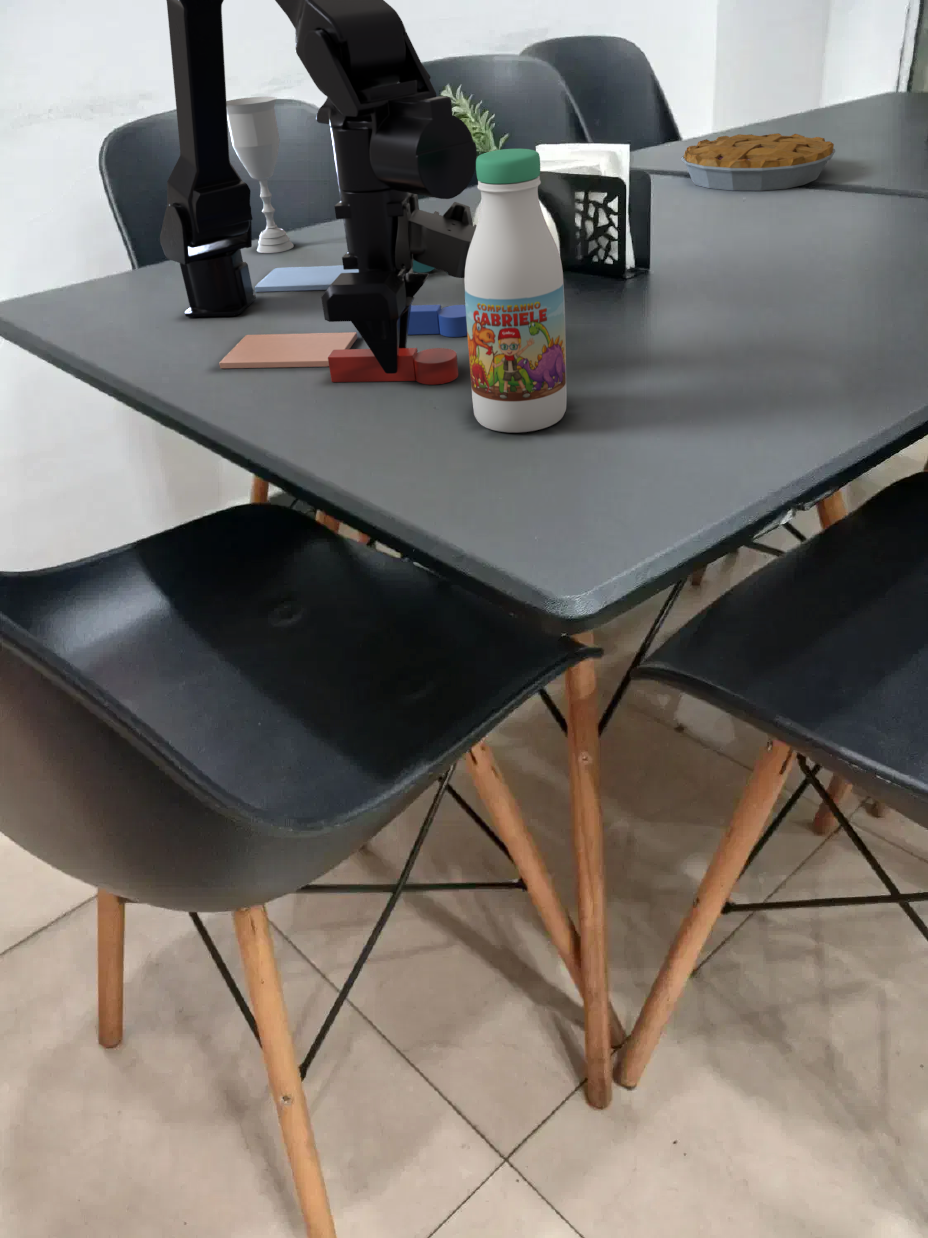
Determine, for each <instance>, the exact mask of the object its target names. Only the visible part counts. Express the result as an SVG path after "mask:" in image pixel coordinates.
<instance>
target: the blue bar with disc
mask: <svg viewBox="0 0 928 1238" xmlns="http://www.w3.org/2000/svg"><path fill="white" fill-rule="evenodd" d="M409 335H410V336H412V335H413V336H414V335H441V336H443V337H447V338H461V337H468V335H467V321H466V306H465V304H454V305H449V306H445V307H442V305H441V304H417V305H416V304H415V305H414V304H411V312H410V320H409V328H408V336H409Z"/></svg>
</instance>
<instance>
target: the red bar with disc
mask: <svg viewBox="0 0 928 1238" xmlns="http://www.w3.org/2000/svg"><path fill="white" fill-rule="evenodd" d="M328 362H329V366H328V369H329V373H330V380H331V383H362V382H363V383H364V382H365V383H367V382H415V381H416V382H418V383H419V384H422V385H429V386H430V385H431V386H433V385H443V384H448V383H451V382H453V381H454V380H456V379H458V377H459V366H458V364H459V363H458V353H457V351H455V350H454V349H452V348H445V347H432V348H427V349H422V350H421V351H418V347H406V348H399V359H398V371H397V373H395V374H387V373H385V372H384V370H383V368H382V367H381V365H380V364H379V362H378V361H377V359H376V358H375V356H374V354H373V353H372V351H371V350H370V348H360V349H359V348H356V349H355V348H350V349H344V350H333V351H332V352H331V354H330V355H329V356H328Z"/></svg>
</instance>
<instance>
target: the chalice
mask: <svg viewBox="0 0 928 1238" xmlns="http://www.w3.org/2000/svg"><path fill="white" fill-rule="evenodd" d="M276 102H277V97H276V96H251V97H243V98H242V97H241V98H235V99H230V100H226V103H227V122H228V132H229V135H230V141H231V145H232V148H233V150H234V152H235V153H236V155H237V158H238V160H239V161H240V163H241V165H242V166H243V167H244V169H245V170H246V171H247V173H248V175H249V176H250V178H251V179H253V180H256V181H258V184H259V187H260V195H259V198H260V199H261V201H262V202H263V208H262V210H261V212H262V214H263V215H264V216H265V219H266V226H265V229H263V230H262V231H260V233H259V236H258V237H259V239H258V242H257V244H258V245H257V249H256V251H257V253H261V254H276V253H282V252H285V251H289V250H291V249H293V248H294V244H293V242H292V241H291V238H290V237H289V236H288V234H287V232H286V230H284V229H283V228H281V227H278V225H277V224H276V222H275V219H274V213H275V211H276V209H275V207H273V205H272V204H271V203H272V202H271V198H272V196H273V195H272V193H271V192H270V189H269V187H268V180H269V179H270V178H272V177H273V176H274V172H275V168H276V165H277V161H278V157H279V149H280V141H281V140H280V133H279V128H278V122H277V116H276V110H275V107H276Z"/></svg>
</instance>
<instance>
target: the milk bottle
mask: <svg viewBox="0 0 928 1238" xmlns="http://www.w3.org/2000/svg"><path fill="white" fill-rule="evenodd" d="M475 173H476V178H477V190H479V192H480V196H481V197H480V199H481V200H480V209H479V213H478V214H479V215H478V220H477V223H476V225H477V226H476V230H475V233H474V236H473V238H472V241H471V244H470V247H469V250H468V255H467V259H466V266H465V278H464V300H465V301H464V305H465V306H466V321H467V347H468V360H469V373H470V384H471V398H472V399H471V400H472V407H473V415H474V418H475V419H476V421H477V422H478V423H479V424H480V426H482V427H484V428H486V429H489V430H492V431H496V432H502V433H527V432H528V433H529V432H535V431H538V430H543V429H547V428H548V427H551V426H553V425H555V424H557V423H559V421H561V420H562V419H563V417H564V415H565V412H566V411H567V400H568V399H567V396H568V395H567V349H566V346H567V344H566V312H565V311H566V309H565V307H566V306H565V305H566V304H565V288H564V287H565V285H564V272H563V265H562V260H561V256H560V255H561V254H560V252H559V249H558V246H557V243H556V241H555V238H554V236H553V234H552V232H551V230H550V228H549V226H548V224H547V222H546V218H545V216H544V213H543V211H542V206H541V203H540V199H539V192H538V191H539V190H538V189H539V186H540V185H541V184H542V181H541V177H540V175H541V157H540V153H539V152H538V151H537V150H534V149H530V148H504V149H503V148H502V149H497V150H492V151H487V152H485V153H481V154H479V155H478V156H477V158H476V166H475Z"/></svg>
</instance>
